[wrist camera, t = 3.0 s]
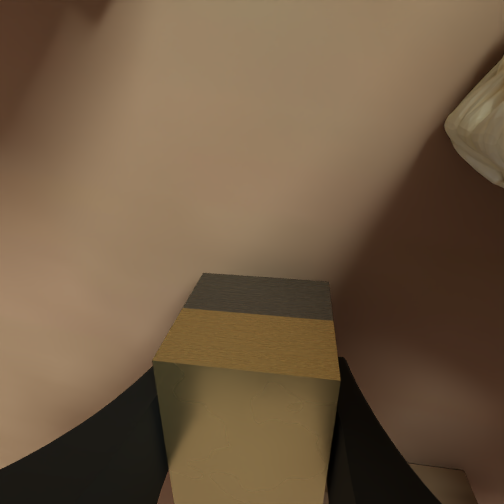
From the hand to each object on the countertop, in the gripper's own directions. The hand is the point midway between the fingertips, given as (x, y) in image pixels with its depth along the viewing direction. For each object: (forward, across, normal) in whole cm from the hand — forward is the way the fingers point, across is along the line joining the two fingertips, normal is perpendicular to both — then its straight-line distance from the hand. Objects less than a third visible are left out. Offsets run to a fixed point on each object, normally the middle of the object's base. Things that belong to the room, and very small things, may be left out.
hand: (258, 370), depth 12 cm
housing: (+1, 0, 0) cm, 1 cm away
